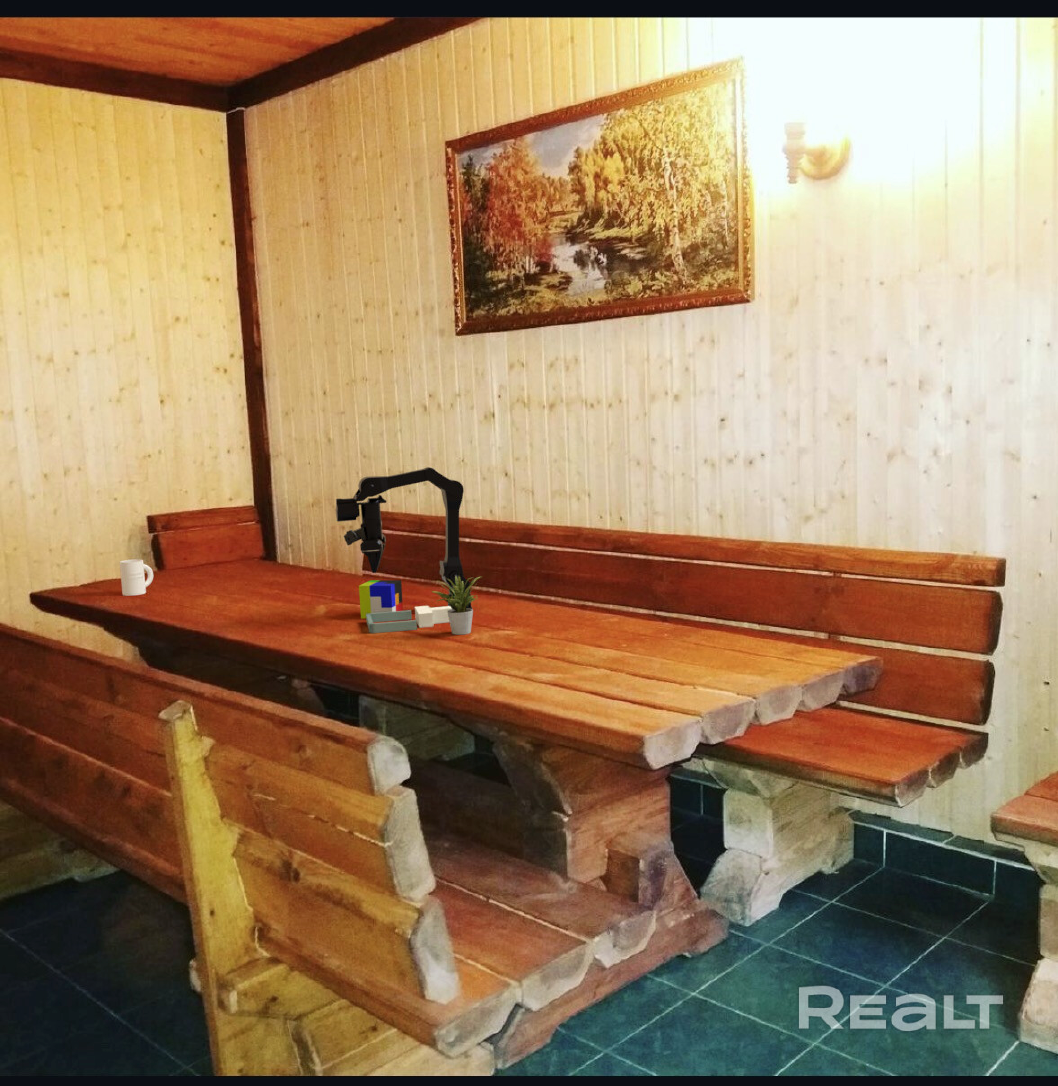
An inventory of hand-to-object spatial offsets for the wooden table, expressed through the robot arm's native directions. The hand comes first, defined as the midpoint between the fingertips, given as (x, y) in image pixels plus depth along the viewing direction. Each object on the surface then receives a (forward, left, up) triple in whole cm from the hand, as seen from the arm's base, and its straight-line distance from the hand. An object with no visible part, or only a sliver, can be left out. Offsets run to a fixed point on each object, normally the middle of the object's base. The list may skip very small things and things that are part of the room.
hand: (375, 570), depth 334 cm
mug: (+81, -84, -14) cm, 117 cm away
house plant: (-21, +33, -14) cm, 42 cm away
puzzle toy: (-1, -2, -14) cm, 15 cm away
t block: (-14, +16, -14) cm, 26 cm away
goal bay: (-2, +16, -14) cm, 22 cm away
